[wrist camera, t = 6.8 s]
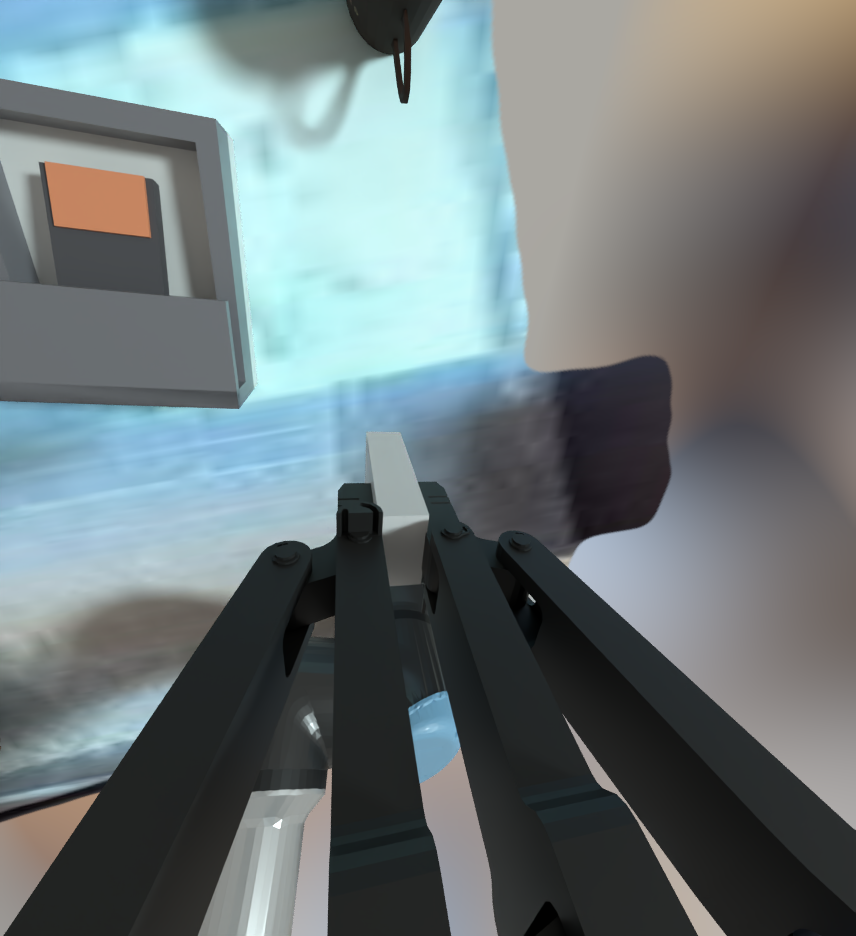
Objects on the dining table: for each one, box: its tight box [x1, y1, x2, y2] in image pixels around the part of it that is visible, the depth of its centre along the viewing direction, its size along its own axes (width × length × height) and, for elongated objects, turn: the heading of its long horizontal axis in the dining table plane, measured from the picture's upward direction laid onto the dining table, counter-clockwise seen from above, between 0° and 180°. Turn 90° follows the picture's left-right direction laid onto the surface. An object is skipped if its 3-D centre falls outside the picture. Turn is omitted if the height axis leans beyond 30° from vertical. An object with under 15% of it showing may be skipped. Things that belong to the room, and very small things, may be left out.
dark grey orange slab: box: [39, 161, 169, 295], centre depth 29 cm, size 12×7×1 cm, turn 174°
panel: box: [0, 79, 258, 409], centre depth 30 cm, size 20×17×8 cm
